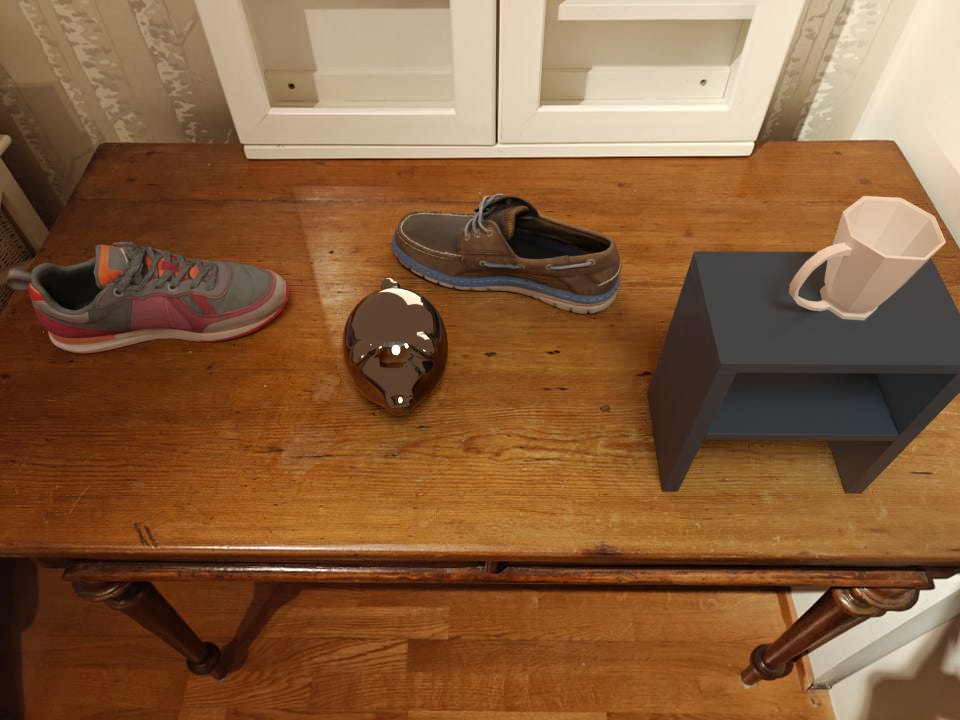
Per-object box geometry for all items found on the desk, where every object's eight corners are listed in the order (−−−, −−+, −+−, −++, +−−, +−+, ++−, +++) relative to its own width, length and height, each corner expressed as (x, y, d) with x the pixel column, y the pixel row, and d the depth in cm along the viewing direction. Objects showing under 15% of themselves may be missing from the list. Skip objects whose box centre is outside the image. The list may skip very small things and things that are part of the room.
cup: (912, 322, 55) (969, 248, 49) (801, 352, 54) (844, 279, 47) (859, 261, 59) (904, 185, 53) (753, 287, 58) (787, 212, 51)
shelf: (827, 394, 77) (928, 251, 60) (861, 493, 70) (986, 365, 53) (646, 393, 78) (693, 251, 60) (662, 491, 71) (720, 363, 53)
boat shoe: (409, 221, 95) (401, 157, 86) (623, 262, 90) (638, 198, 81) (382, 276, 89) (371, 213, 80) (610, 323, 84) (624, 261, 75)
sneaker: (296, 331, 83) (271, 260, 74) (48, 372, 80) (-12, 303, 71) (292, 271, 89) (268, 197, 80) (61, 306, 86) (7, 235, 76)
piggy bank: (353, 444, 74) (333, 383, 65) (350, 334, 83) (333, 267, 74) (457, 432, 75) (453, 370, 66) (444, 325, 84) (438, 257, 75)
